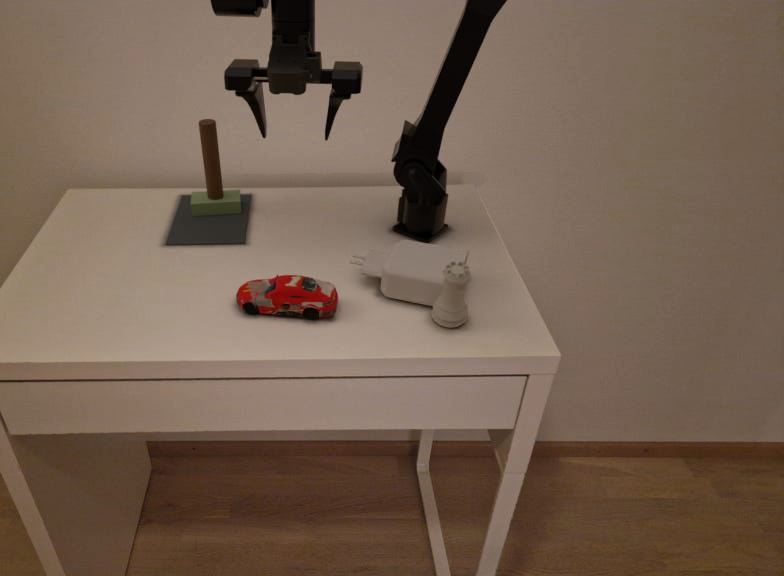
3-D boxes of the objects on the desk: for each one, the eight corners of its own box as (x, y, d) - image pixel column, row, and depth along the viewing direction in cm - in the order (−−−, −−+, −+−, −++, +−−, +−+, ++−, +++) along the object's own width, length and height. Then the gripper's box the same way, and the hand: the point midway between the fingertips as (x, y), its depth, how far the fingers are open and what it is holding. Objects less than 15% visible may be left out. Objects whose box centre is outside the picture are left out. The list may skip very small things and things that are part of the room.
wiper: (240, 201, 100) (233, 115, 91) (241, 213, 97) (233, 125, 88) (193, 204, 100) (181, 117, 91) (192, 216, 96) (179, 128, 87)
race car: (232, 314, 76) (228, 288, 73) (242, 291, 80) (240, 265, 78) (333, 324, 74) (334, 297, 71) (339, 299, 78) (340, 273, 76)
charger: (360, 257, 86) (463, 277, 82) (340, 290, 80) (451, 314, 76) (362, 228, 83) (469, 247, 79) (341, 260, 77) (457, 282, 72)
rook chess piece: (427, 306, 76) (434, 256, 70) (462, 303, 76) (471, 253, 70) (434, 331, 73) (442, 281, 67) (470, 328, 73) (481, 277, 67)
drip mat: (244, 244, 90) (244, 242, 90) (165, 245, 90) (165, 243, 90) (251, 195, 103) (251, 194, 103) (182, 196, 103) (181, 195, 103)
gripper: (208, 31, 72) (221, 157, 82) (361, 33, 70) (355, 162, 80) (228, 12, 81) (237, 129, 91) (365, 14, 79) (359, 133, 89)
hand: (295, 138), depth 87 cm, fingers open, 9 cm apart
